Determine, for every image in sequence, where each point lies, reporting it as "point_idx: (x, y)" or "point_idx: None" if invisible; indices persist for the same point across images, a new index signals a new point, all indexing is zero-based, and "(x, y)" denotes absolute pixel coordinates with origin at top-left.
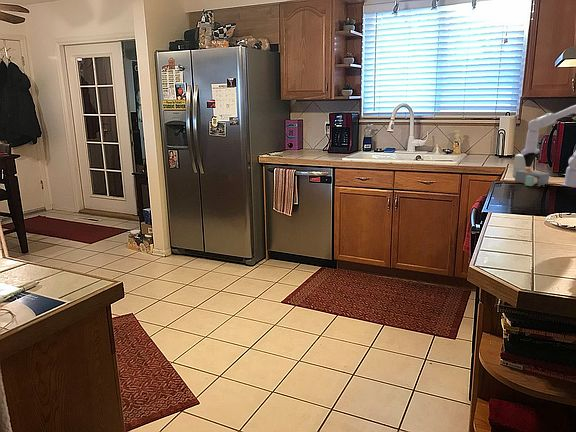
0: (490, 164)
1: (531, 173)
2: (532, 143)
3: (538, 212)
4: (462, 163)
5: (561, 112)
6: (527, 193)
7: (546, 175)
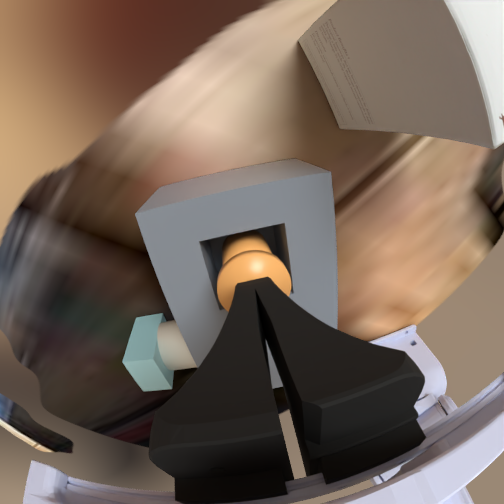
0: None
1: (201, 349)
2: None
3: (51, 445)
4: None
5: None
6: (79, 390)
7: None
